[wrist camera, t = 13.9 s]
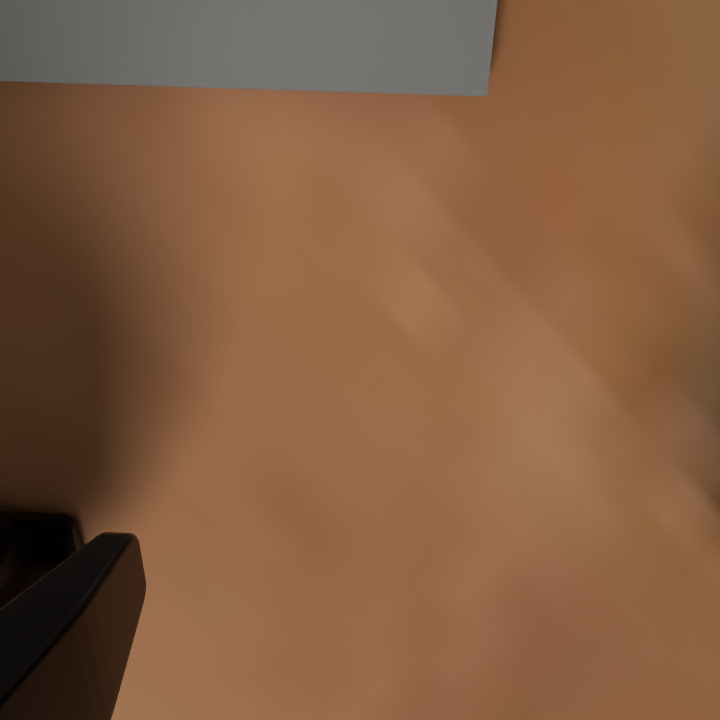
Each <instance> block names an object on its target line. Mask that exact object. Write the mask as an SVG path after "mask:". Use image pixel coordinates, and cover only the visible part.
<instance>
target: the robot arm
mask: <svg viewBox="0 0 720 720" xmlns="http://www.w3.org/2000/svg"><path fill="white" fill-rule="evenodd" d="M60 527H62V528H64V529H62V528H60ZM145 593H146V579H145V574H144V568H143V562H142V556H141V550H140V544H139V541H138V538H137V537H136V536H135V535H134V534H131V533H116V532H105V533H102V534H100V535H98V536H96V537H95V538H94V539H92V540H91V541H90V542H88V543H87V544H86V545H84V546H83V547H82V546H81V541H80V537H79V533H78V528H77V524H76V522H75V521H74V520H73V519H72V518H71V517H69V516H67V515H64V514H50V513H29V512H7V511H0V720H111V717H112V714H113V711H114V707H115V704H116V701H117V697H118V693H119V690H120V686H121V683H122V679H123V675H124V672H125V668H126V665H127V661H128V657H129V654H130V650H131V646H132V643H133V639H134V636H135V632H136V628H137V625H138V621H139V618H140V614H141V610H142V607H143V603H144V599H145Z"/></svg>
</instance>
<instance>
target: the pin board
mask: <svg viewBox="0 0 720 720" xmlns="http://www.w3.org/2000/svg"><path fill="white" fill-rule="evenodd" d="M496 10H497V0H0V81H10V82H42V83H75V84H107V85H139V86H171V87H203V88H236V89H268V90H300V91H332V92H364V93H397V94H429V95H461V96H487V94H488V84H489V75H490V66H491V56H492V47H493V38H494V28H495V19H496Z"/></svg>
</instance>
